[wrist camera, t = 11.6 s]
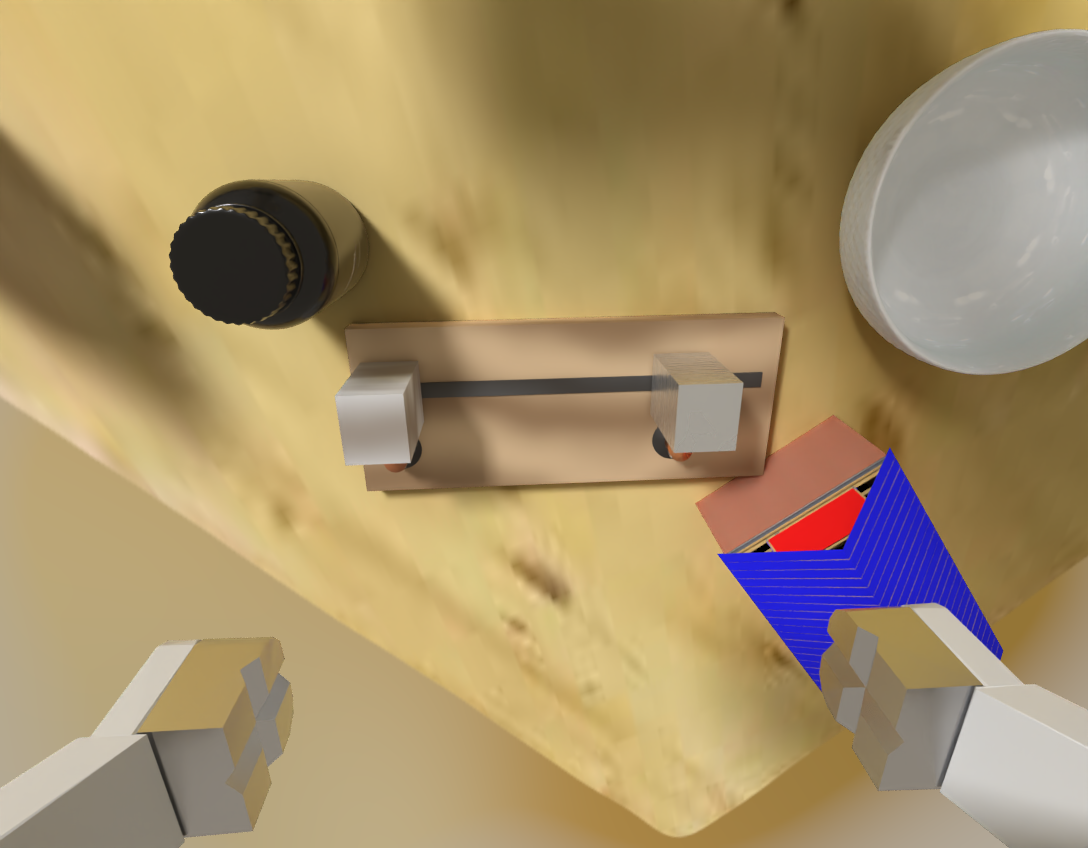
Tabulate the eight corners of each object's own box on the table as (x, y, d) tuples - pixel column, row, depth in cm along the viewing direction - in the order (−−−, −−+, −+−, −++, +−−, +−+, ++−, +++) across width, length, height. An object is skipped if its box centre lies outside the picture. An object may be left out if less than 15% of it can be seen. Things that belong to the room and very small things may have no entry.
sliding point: (653, 354, 38) (678, 384, 33) (708, 352, 38) (743, 382, 33) (648, 451, 41) (670, 495, 35) (699, 449, 41) (730, 493, 35)
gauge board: (350, 323, 38) (314, 359, 31) (774, 312, 39) (835, 344, 32) (371, 480, 42) (344, 544, 35) (754, 465, 44) (804, 523, 36)
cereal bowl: (1123, 203, 38) (1251, 210, 32) (905, 392, 42) (978, 433, 36) (981, -21, 33) (1098, -69, 27) (748, 218, 37) (801, 229, 31)
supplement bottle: (383, 291, 37) (331, 342, 26) (272, 305, 37) (173, 362, 26) (357, 171, 35) (288, 170, 24) (237, 186, 35) (112, 192, 24)
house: (834, 407, 42) (945, 488, 32) (941, 590, 49) (1063, 708, 39) (688, 501, 45) (746, 606, 34) (810, 664, 52) (890, 794, 41)
